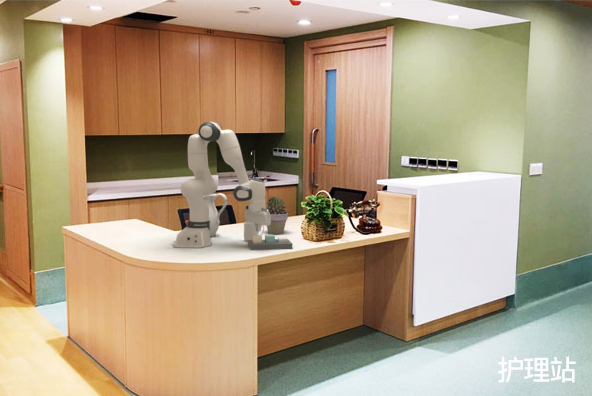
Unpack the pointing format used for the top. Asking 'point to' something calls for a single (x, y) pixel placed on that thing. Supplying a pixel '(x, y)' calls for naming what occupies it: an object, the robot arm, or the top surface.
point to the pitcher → (214, 211)
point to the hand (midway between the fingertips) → (257, 231)
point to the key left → (256, 238)
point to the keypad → (269, 245)
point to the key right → (282, 240)
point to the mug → (250, 231)
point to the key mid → (269, 238)
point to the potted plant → (276, 215)
